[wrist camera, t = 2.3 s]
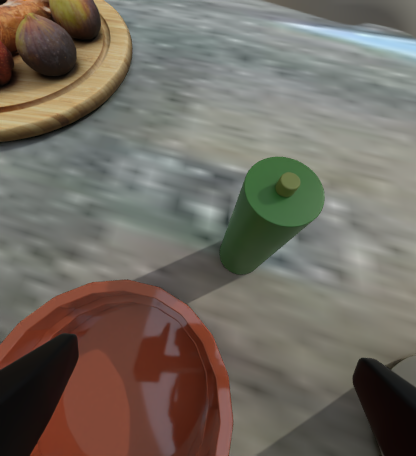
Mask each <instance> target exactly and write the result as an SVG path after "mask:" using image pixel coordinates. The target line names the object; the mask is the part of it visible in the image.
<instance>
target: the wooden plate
mask: <svg viewBox="0 0 416 456" xmlns="http://www.w3.org/2000/svg"><path fill="white" fill-rule="evenodd" d="M131 59H132V40H131V36H130V33H129V30H128V28H127V26H126V24H125V22H124V20H123V19H122V17H121V16H120V15H119V13H118V12H117V11H116V10H115V9H114V8H113V7H112V6H111V5H109V4H108V3H107V2H105V1H104V0H0V142H4V141H12V140H18V139H23V138H28V137H33V136H37V135H41V134H44V133H47V132H51V131H53V130H56V129H59V128H61V127H64V126H66V125H68V124H71V123H73V122H75V121H76V120H78V119H80V118H82V117H84V116H85V115H87V114H89V113H90V112H92V111H93V110H95V109H96V108H98V107H99V106H100V105H102V104H103V103H104V102H105V101H106V100H107V99H108V98H109V97H110V96H111V95H112V94H113V93H114V92H115V91H116V90H117V89H118V87H119V86H120V84H121V83H122V81H123V80H124V78H125V76H126V74H127V72H128V69H129V67H130V63H131Z"/></svg>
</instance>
